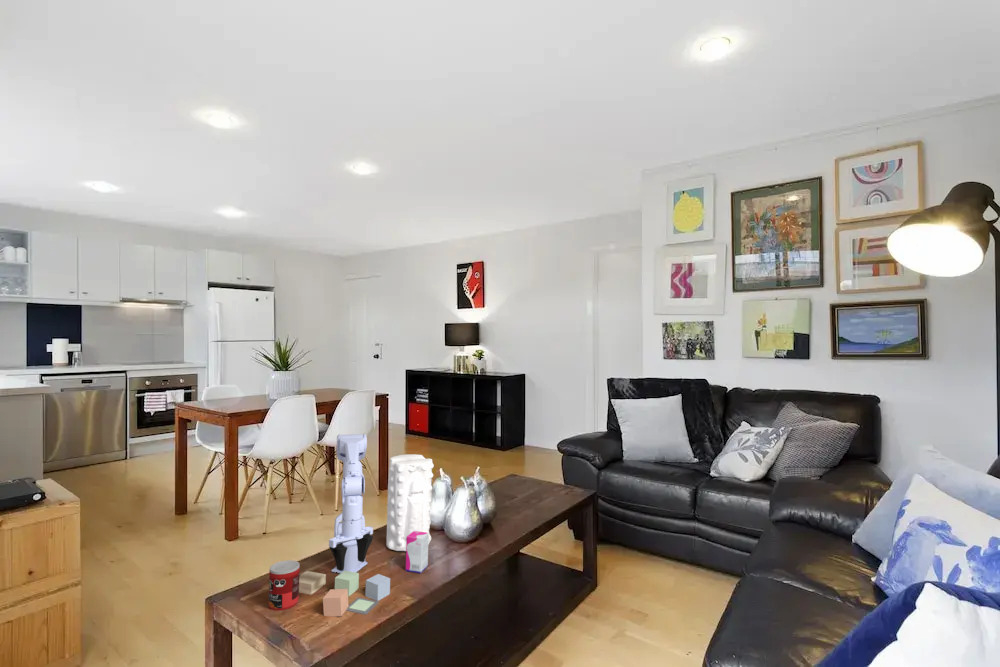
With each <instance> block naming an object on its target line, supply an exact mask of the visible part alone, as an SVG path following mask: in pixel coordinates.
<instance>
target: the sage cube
mask: <svg viewBox="0 0 1000 667" xmlns="http://www.w3.org/2000/svg"><path fill="white" fill-rule="evenodd" d="M359 580H360V572H350V571H343V572H342V573H338V575H337V576H336V577H334V589H348V597H351V595H353V594H354V593H355V592H356V591H357V590H358V589H360V588H359V586H360V585H359V584H360V583H359Z"/></svg>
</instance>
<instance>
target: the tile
mask: <svg viewBox="0 0 1000 667" xmlns="http://www.w3.org/2000/svg"><path fill="white" fill-rule="evenodd" d="M379 603H380V601H376V600H373V599H367V598H362V597H356V598H355V599H354V600H353V601H352V602H351V603H349V607H348V608H347V610H346V611H345V612H351V613H356V614H361V615H365V616H366V615H367V614H368V613H370V612H371V610H373V609H374V608H375V607H376V606H377V605H378V604H379Z"/></svg>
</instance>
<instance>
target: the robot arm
mask: <svg viewBox="0 0 1000 667" xmlns="http://www.w3.org/2000/svg"><path fill="white" fill-rule="evenodd" d="M367 437H368V436H367V434H366V433H359V434H354V433H353V434H340V433H339V434H338V435H337V436H336V457H337V460H339V461H341V462H342V464H343V466H342V478H341V488H340V489H341V490H340V491H341V494H340V495H341V503H342V508H341V509H342V511H341V513H339V514H338V515H337V516H336V517H335V518H334V525H333V526H334V530H333V538H330V539H328V548H329V549H330V551H331V554H332V556H333V558H334V562H335V565H336V566H334V568H332V569H331V572H332V573H336V572H337V574H341V573H342V572H343V571H350V572H356V573H358V572H359V571H360V570H361V569H363V568H364V567H365V566H366V565H368V562H367V561H366V556H367V553H368V550H369V547H370V545H371V544H372V542H373V541H374V537H373V534H374V527H373V526H366V519H365V518H366V517H365V515H364V514H363V505H364V504H363V502H364V501H363V500H364V497H363V496H364V495H365V493H366V490H365V489H366V479H365V476H364V473H363V464H362V462H361V460H363V459H365V456H366V454H367V448H368V438H367Z"/></svg>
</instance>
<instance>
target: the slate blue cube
mask: <svg viewBox="0 0 1000 667" xmlns="http://www.w3.org/2000/svg"><path fill="white" fill-rule="evenodd" d="M364 594H365V597H366V598H370V600H373V601H378V602H380V601H381V600H382V599H384V598H387V596H389V595H390V594H391V578H390V577H388V576H385V575H382V574H379V573H377V574H375V575H373V576H371V577H370V578H367V579H365V593H364Z"/></svg>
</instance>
